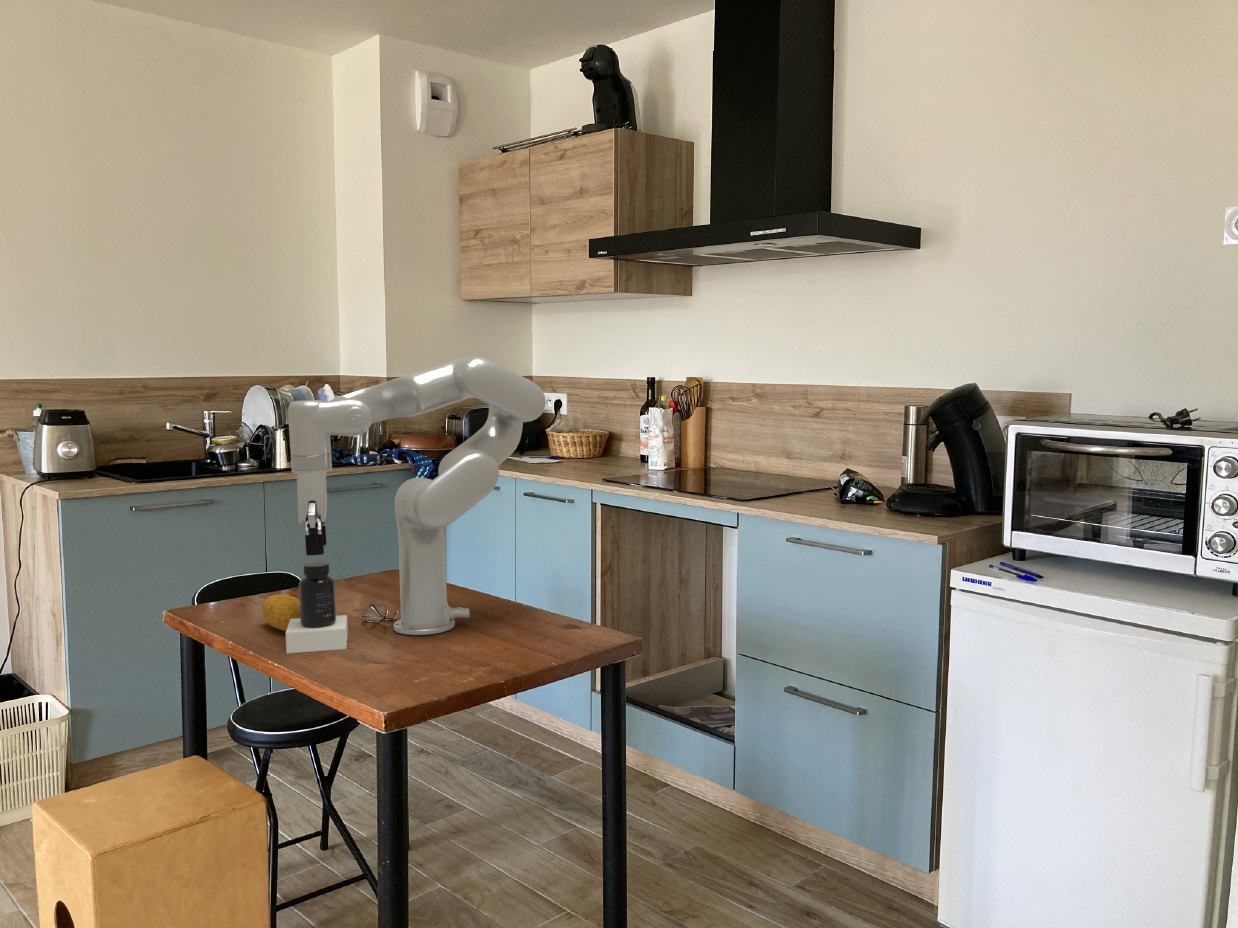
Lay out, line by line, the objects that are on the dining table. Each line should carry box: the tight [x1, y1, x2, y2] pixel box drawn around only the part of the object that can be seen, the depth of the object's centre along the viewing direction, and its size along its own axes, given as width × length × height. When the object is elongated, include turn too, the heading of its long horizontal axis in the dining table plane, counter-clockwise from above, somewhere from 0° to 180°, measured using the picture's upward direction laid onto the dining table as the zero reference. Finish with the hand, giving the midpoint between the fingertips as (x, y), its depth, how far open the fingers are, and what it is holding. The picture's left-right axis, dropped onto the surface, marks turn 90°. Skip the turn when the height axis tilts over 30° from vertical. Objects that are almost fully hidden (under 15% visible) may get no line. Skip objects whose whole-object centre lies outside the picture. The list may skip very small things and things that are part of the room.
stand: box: [285, 614, 349, 654], centre depth 189 cm, size 11×11×4 cm
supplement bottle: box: [298, 561, 337, 628], centre depth 188 cm, size 7×7×12 cm
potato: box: [261, 593, 300, 633], centre depth 200 cm, size 7×14×7 cm, turn 38°
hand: (316, 550), depth 188 cm, fingers open, 9 cm apart
